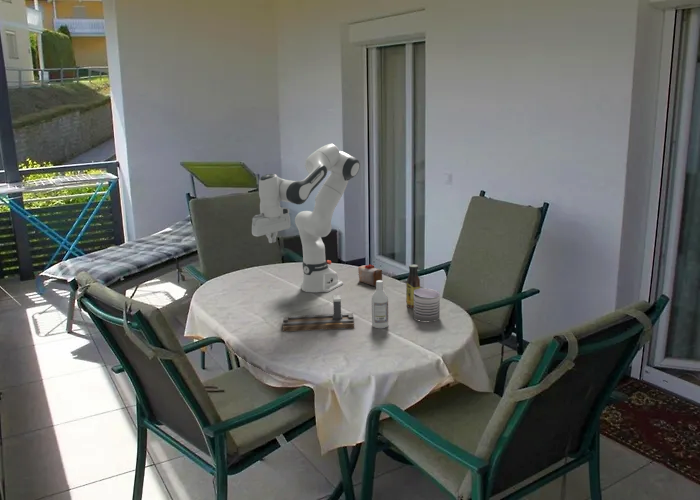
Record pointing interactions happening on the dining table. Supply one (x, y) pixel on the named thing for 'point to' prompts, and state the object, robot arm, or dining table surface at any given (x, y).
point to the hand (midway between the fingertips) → (272, 242)
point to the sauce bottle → (412, 285)
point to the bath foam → (379, 306)
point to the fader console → (317, 322)
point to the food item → (369, 274)
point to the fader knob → (337, 307)
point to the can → (426, 304)
